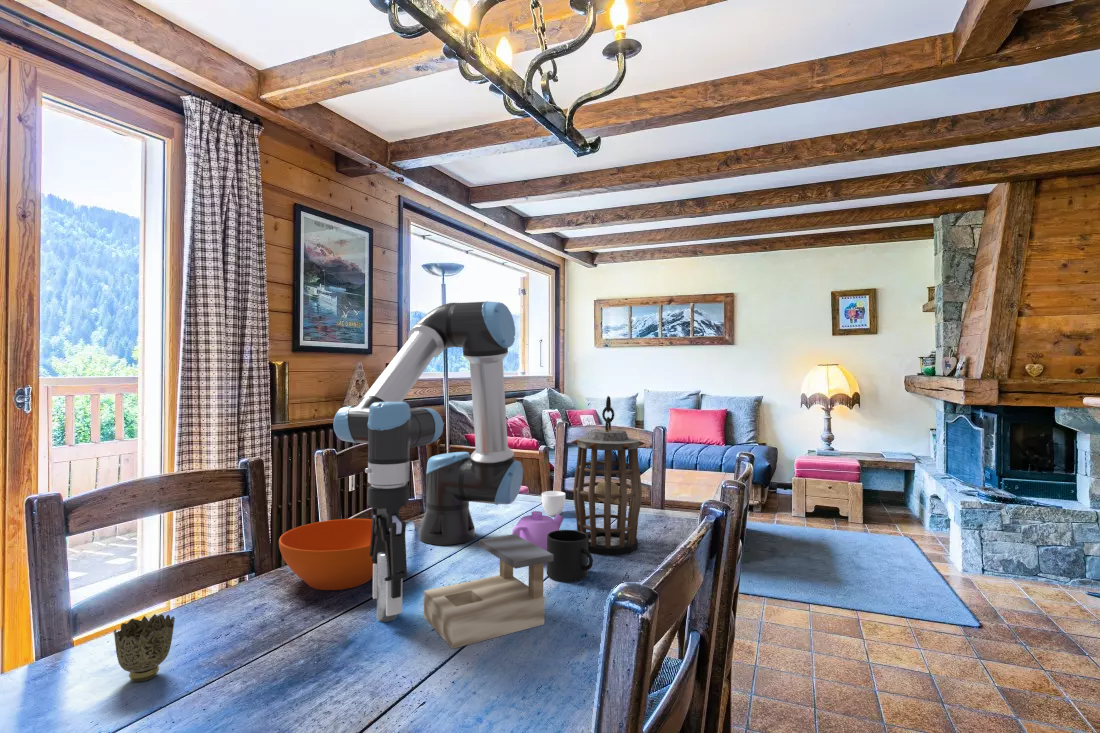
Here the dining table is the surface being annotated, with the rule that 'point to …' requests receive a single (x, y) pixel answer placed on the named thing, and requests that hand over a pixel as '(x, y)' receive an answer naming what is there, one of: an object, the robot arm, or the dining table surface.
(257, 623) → the dining table surface
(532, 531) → the teapot
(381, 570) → the peg
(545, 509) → the cup
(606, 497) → the lantern
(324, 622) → the dining table surface
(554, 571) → the mug
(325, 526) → the bowl
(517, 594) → the socket porch
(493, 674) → the dining table surface
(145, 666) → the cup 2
